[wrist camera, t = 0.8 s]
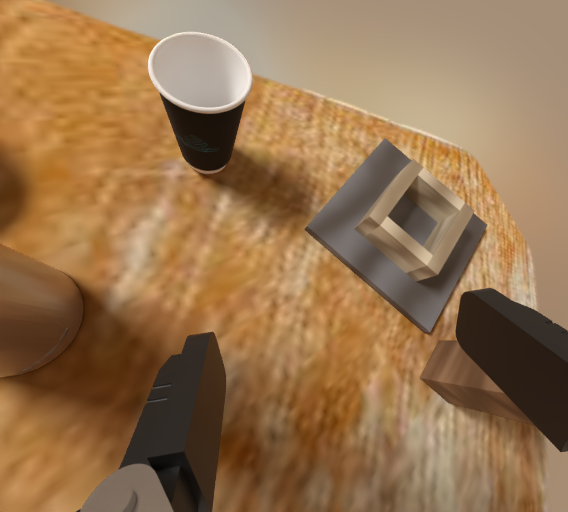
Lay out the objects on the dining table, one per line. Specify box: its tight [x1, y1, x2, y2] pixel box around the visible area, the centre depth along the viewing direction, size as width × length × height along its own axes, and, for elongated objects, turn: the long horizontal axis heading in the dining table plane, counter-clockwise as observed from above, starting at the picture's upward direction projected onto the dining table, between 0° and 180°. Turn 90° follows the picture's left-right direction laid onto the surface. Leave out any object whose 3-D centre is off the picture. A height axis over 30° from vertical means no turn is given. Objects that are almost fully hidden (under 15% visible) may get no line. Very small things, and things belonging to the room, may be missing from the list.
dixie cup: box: [148, 32, 253, 174], centre depth 27 cm, size 8×8×11 cm
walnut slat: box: [420, 341, 534, 425], centre depth 24 cm, size 4×5×15 cm
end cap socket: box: [304, 139, 487, 333], centre depth 33 cm, size 18×18×4 cm
